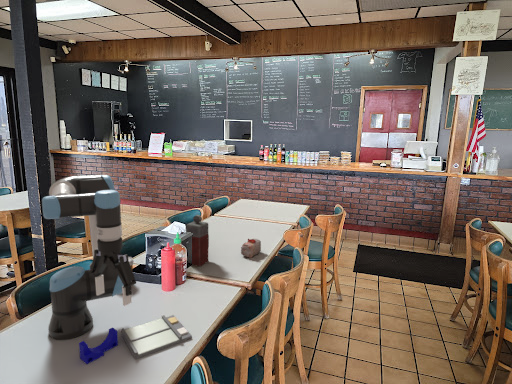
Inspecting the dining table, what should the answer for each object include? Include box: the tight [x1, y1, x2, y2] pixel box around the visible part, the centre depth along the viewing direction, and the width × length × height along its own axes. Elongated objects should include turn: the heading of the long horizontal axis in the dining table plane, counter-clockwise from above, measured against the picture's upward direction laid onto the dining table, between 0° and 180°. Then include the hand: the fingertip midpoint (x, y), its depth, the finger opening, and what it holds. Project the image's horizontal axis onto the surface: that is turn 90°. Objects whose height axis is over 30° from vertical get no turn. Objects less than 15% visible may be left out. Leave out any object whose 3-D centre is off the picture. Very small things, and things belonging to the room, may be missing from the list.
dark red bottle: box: [185, 214, 210, 267], centre depth 198 cm, size 9×11×28 cm
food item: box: [240, 238, 262, 259], centre depth 213 cm, size 14×8×10 cm, turn 151°
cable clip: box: [78, 327, 119, 365], centre depth 120 cm, size 12×4×6 cm, turn 141°
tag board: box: [120, 314, 193, 360], centre depth 131 cm, size 17×21×2 cm
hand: (113, 298), depth 117 cm, fingers open, 13 cm apart
